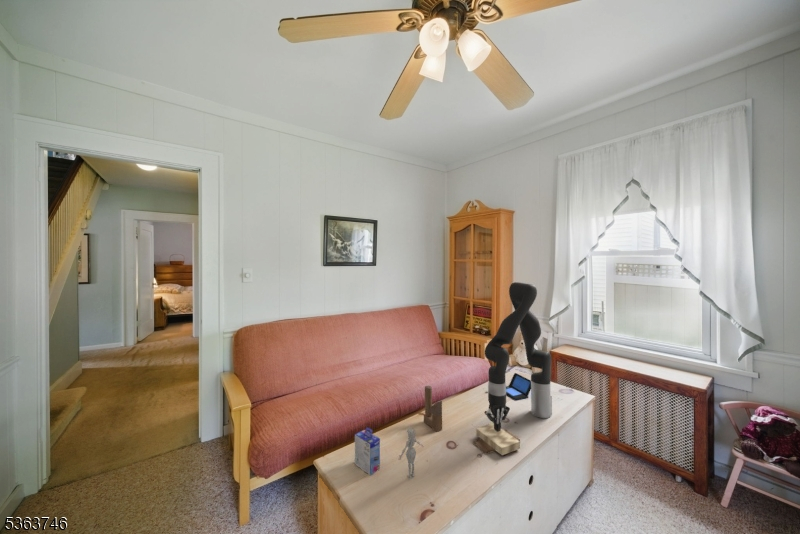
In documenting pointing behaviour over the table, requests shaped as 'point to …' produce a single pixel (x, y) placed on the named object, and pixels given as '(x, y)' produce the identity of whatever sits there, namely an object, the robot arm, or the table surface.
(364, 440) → the ink cartridge box
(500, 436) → the oak plank
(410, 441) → the human figurine
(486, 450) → the floor panel
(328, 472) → the table surface
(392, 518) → the table surface
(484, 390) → the table surface
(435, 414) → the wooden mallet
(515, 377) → the handheld game console
